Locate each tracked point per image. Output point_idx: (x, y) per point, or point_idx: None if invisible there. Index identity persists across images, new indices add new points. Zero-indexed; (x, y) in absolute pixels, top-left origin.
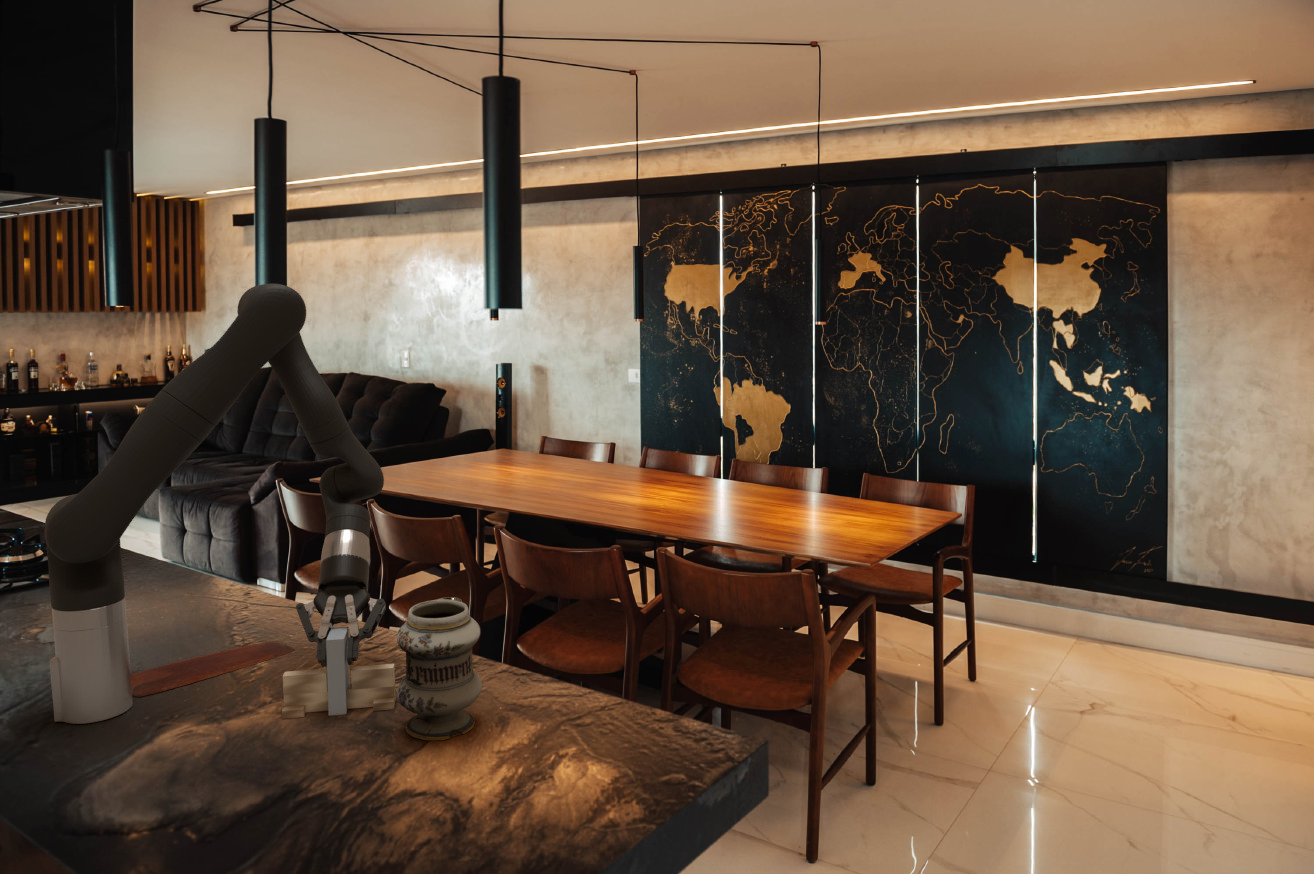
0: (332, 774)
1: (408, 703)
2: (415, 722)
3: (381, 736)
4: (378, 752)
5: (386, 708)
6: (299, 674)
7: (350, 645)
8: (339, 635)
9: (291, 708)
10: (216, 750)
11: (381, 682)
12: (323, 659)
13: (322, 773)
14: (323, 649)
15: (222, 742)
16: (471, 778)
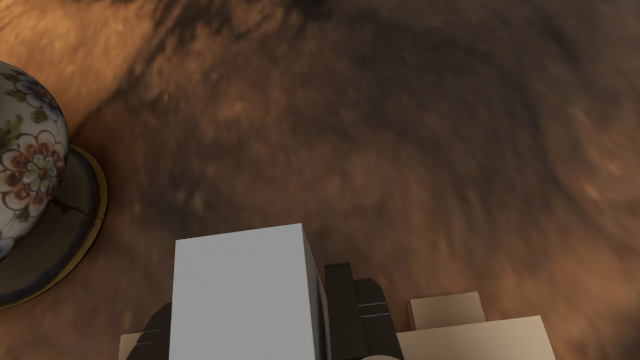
0: (253, 41)
1: (38, 81)
2: (73, 191)
3: (168, 172)
4: (173, 107)
5: None
6: (467, 332)
7: (169, 331)
8: (217, 327)
9: (455, 312)
10: (546, 131)
11: None
12: (333, 267)
13: (272, 44)
14: (343, 302)
15: (560, 166)
16: (18, 26)
